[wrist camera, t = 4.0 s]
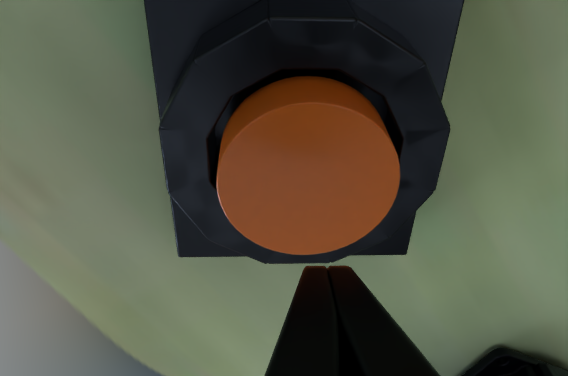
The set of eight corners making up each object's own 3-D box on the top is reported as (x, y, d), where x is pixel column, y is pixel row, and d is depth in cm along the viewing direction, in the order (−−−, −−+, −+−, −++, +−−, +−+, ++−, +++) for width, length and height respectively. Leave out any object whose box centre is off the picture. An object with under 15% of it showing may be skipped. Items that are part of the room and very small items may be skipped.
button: (374, 218, 14) (386, 255, 13) (224, 219, 14) (220, 256, 13) (399, 75, 12) (416, 103, 10) (216, 74, 11) (210, 101, 10)
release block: (398, 233, 18) (421, 293, 16) (182, 235, 18) (169, 297, 15) (461, -68, 12) (512, -48, 10) (143, -75, 12) (114, -56, 9)
